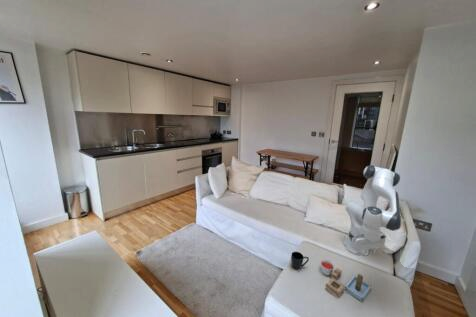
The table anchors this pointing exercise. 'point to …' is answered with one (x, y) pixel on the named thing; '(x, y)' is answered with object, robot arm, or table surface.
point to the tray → (357, 294)
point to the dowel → (359, 282)
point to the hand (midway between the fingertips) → (365, 253)
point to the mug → (297, 260)
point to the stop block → (336, 274)
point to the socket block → (337, 285)
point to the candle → (327, 267)
